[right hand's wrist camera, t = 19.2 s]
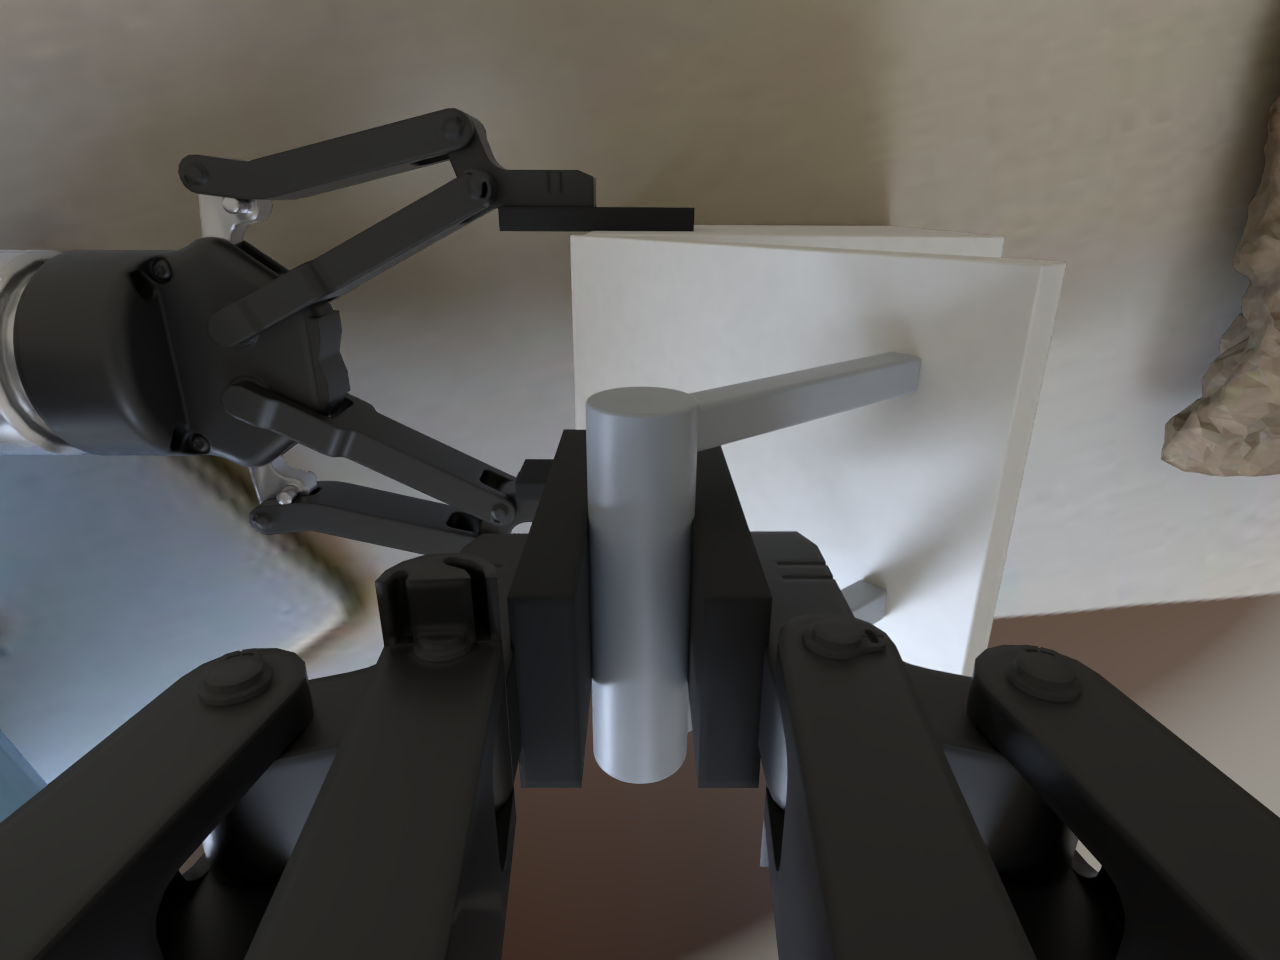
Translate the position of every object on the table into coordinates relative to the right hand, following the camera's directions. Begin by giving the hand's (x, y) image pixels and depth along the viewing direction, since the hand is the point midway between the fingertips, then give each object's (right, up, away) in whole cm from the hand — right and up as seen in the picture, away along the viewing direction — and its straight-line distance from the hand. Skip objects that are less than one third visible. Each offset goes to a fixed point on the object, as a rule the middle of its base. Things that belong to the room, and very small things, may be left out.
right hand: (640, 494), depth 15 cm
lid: (+3, +2, +4) cm, 5 cm away
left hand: (+2, +5, +13) cm, 13 cm away
